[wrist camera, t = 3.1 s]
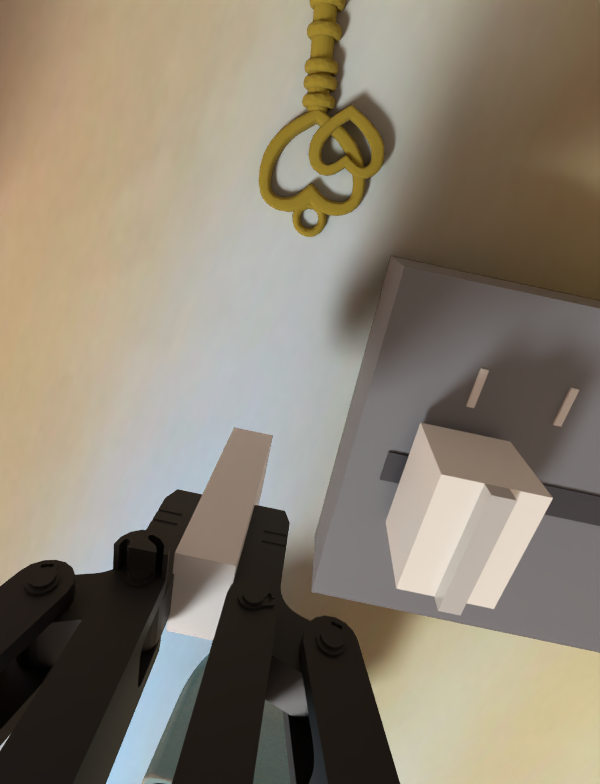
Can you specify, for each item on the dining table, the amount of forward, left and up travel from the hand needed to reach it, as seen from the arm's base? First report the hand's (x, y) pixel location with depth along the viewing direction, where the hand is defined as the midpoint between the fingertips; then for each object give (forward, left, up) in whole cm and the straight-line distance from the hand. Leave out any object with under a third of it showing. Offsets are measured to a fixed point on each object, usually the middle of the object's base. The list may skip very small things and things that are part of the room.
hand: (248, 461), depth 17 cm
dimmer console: (0, +15, -6) cm, 16 cm away
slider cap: (0, +8, -1) cm, 8 cm away
